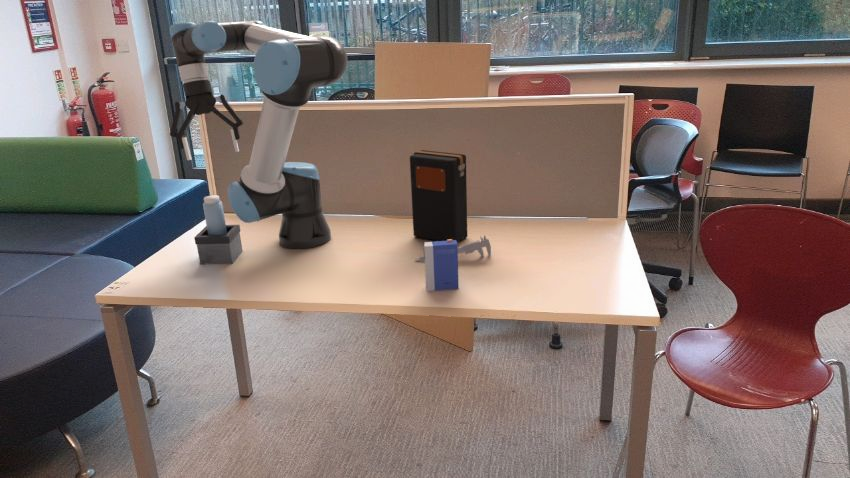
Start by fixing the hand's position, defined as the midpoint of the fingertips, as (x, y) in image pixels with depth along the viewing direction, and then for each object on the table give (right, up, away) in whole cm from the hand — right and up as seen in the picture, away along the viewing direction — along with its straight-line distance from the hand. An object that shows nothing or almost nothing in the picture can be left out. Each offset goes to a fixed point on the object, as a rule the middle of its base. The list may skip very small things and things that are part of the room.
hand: (213, 155), depth 182 cm
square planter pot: (+4, -29, -5) cm, 30 cm away
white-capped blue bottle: (+4, -24, -7) cm, 25 cm away
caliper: (+68, -30, -12) cm, 76 cm away
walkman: (+65, -36, -29) cm, 80 cm away
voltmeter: (+65, -24, +3) cm, 70 cm away
